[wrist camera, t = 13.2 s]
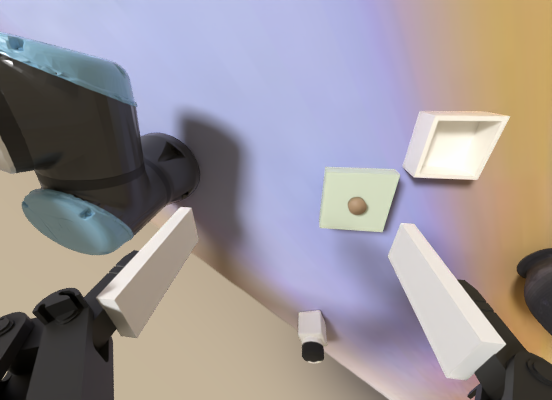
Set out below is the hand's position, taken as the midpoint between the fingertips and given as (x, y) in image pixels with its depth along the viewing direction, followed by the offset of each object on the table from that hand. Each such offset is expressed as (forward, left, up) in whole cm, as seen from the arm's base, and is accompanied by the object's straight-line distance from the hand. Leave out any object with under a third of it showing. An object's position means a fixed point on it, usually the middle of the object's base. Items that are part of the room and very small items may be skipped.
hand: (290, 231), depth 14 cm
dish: (+25, -1, -30) cm, 39 cm away
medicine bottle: (+7, -58, -30) cm, 66 cm away
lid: (+11, -11, -26) cm, 31 cm away
